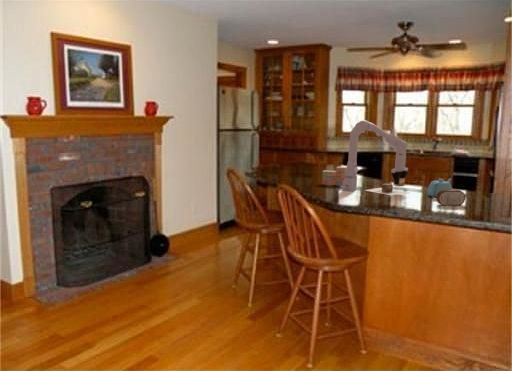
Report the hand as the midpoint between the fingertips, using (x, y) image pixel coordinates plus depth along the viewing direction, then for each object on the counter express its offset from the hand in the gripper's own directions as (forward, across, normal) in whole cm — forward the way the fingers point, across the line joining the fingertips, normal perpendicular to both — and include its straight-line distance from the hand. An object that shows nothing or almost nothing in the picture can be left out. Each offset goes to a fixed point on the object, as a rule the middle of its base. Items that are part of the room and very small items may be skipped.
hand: (398, 183), depth 262 cm
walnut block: (+6, 0, +8) cm, 10 cm away
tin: (+7, -3, -34) cm, 35 cm away
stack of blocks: (+7, -4, +43) cm, 44 cm away
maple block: (+1, 0, 0) cm, 1 cm away
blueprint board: (+6, 0, +8) cm, 10 cm away
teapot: (+7, +14, -19) cm, 25 cm away
